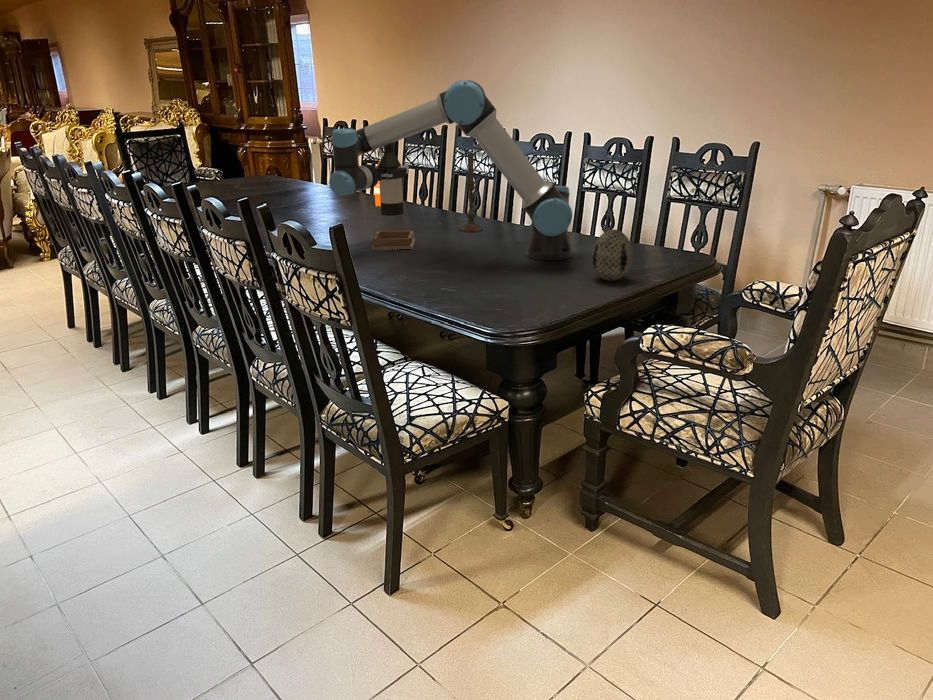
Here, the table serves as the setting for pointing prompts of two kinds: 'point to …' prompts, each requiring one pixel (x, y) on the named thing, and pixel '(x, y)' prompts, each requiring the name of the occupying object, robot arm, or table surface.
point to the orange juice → (377, 193)
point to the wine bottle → (390, 185)
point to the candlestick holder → (471, 199)
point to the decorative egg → (612, 255)
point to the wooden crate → (393, 240)
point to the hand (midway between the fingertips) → (396, 168)
